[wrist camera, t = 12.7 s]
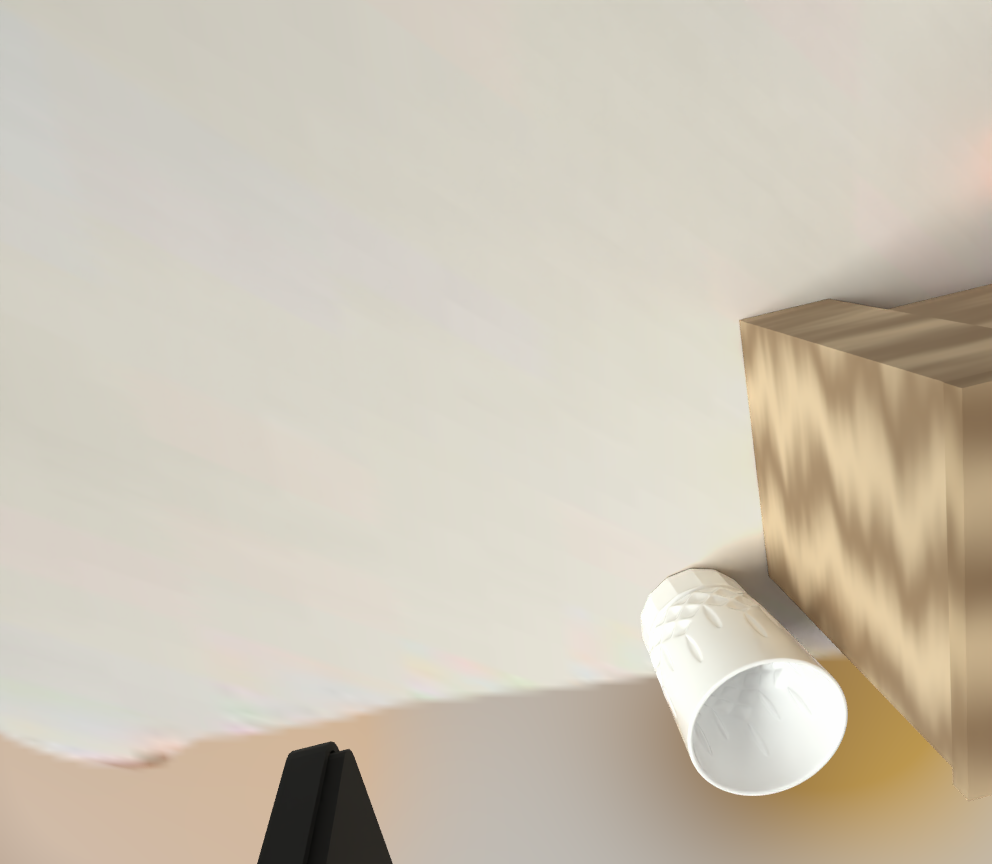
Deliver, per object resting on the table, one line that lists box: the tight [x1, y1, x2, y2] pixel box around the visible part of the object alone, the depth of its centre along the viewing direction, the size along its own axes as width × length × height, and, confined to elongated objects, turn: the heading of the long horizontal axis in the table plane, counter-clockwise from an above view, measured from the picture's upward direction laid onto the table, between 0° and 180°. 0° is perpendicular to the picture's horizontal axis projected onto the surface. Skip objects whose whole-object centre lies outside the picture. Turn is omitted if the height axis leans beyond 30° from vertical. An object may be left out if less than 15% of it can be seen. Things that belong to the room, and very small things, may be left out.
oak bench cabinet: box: [739, 284, 992, 801], centre depth 31 cm, size 16×14×17 cm
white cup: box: [640, 569, 848, 796], centre depth 37 cm, size 8×8×10 cm
